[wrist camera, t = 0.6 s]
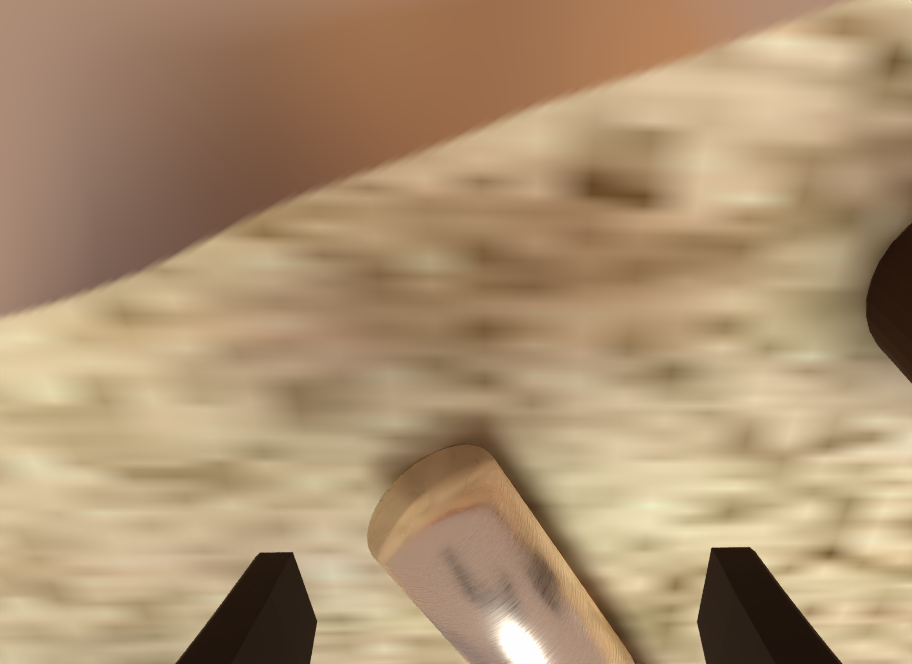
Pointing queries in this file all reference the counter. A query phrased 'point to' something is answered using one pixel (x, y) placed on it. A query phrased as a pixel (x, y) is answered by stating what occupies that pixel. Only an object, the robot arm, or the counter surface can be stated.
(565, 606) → the tube
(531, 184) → the counter surface
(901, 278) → the coffee mug
